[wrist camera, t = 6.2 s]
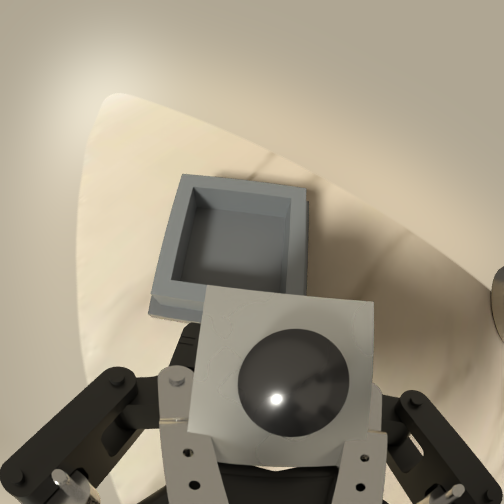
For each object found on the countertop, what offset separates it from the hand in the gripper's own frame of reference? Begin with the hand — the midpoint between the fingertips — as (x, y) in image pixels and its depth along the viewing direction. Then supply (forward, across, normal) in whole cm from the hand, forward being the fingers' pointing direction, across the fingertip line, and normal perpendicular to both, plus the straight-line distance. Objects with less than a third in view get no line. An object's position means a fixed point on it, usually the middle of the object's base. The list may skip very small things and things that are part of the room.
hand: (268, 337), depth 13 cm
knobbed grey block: (+2, 0, +4) cm, 5 cm away
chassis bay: (+9, +2, 0) cm, 9 cm away
